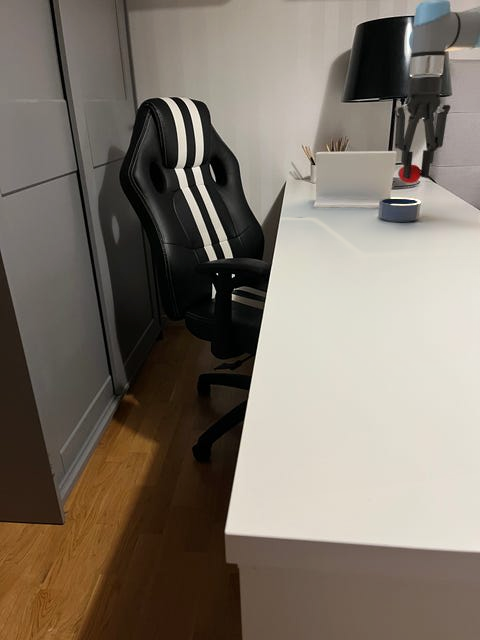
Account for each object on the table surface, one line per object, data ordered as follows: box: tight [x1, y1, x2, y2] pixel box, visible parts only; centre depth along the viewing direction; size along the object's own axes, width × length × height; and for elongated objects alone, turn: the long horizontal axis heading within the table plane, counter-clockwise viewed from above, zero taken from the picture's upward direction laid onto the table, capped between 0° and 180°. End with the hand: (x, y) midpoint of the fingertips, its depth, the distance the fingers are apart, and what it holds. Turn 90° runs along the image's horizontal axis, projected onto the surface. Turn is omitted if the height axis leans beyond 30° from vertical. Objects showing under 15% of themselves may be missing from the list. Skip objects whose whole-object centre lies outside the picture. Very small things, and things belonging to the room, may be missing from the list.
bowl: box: [377, 197, 421, 223], centre depth 144 cm, size 11×11×5 cm
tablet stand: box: [313, 150, 398, 209], centre depth 166 cm, size 18×25×17 cm
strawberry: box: [397, 164, 421, 184], centre depth 132 cm, size 5×5×7 cm
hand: (415, 177), depth 129 cm, fingers closed on strawberry, 4 cm apart
